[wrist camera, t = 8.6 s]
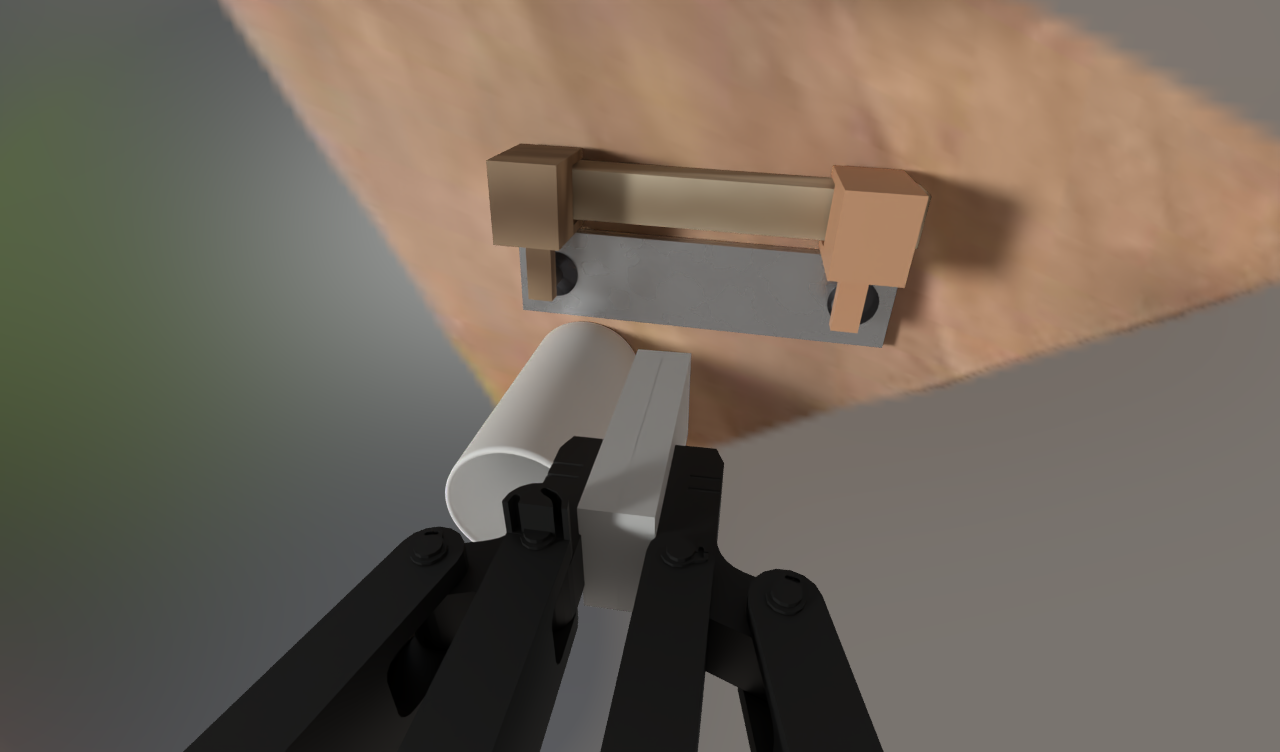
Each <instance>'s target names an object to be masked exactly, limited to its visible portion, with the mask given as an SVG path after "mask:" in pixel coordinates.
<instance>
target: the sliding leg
mask: <svg viewBox="0 0 1280 752" xmlns="http://www.w3.org/2000/svg"><path fill="white" fill-rule="evenodd" d="M831 176H832V179H833V181H834V183H835V188H834V193H833V198H832V204H831V209H830V214H829V220H828V225H827V230H826V235H825V241H824V240H819V244H818V245H819V249H820V253H821V257H822V261H823V265H824V269H825V273H826V278H827V281H835V282H838V283H837V288H836V292H835V297H834V299H833V301H832V303H831V307H832V312H831V317H830V321H829V326H830V331H840V332H849V333H858V329H859V325H860V321H861V316H862V312H863V308H864V303H865V299H866V295H867V291H868V286H869V285H878V286H889V287H900V288H905V284H906V281H907V277H908V273H909V269H910V266H911V262H912V258H913V254H914V251H915V247H916V243H917V239H918V236H919V232H920V228H921V224H922V221H923V217H924V213H925V209H926V206H927V202H928V198H929V196H928V195H927V194H926V193H925V192H924V191H923V190H922V189H921V188H920V187H919V186H918V184H917V183H916V182H915V181H914V180H913V179H912V178H911V177H910V176H909V175H908V174H907V173H906V172H905V171H904V170H895V169H881V168H866V167H852V166H837V165H833V169H832V174H831Z"/></svg>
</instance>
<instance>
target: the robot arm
mask: <svg viewBox="0 0 1280 752" xmlns="http://www.w3.org/2000/svg"><path fill="white" fill-rule="evenodd" d="M690 371H691V353H679V352H667V351H654V350H641V349H638V351H637V353H636V356H635V358H634V361H633V364H632V366H631V369H630V371H629V374H628V377H627V379H626V382H625V385H624V387H623V390H622V392H621V395H620V398H619V400H618V403H617V405H616V408H615V411H614V413H613V416H612V418H611V421H610V424H609V426H608V429H607V431H606V434H605V437H604V439H599V438H590V437H580V436H573V437H572V438H571V439H570V440H568V441H567V442H566V443H565V444H564V445H562V446H561V447H560V448H559V450H558V453H557V455H556V457H555V459H554V461H553V464H552V465H551V467H550V469H549V471H548V475H547V476H546V478H545V480H544V482H543V483H531V484H527V485H523V486H520V487H518V488H516V489H514V490H513V491H511V492H509V493H508V494H507V496H506V497H505V498H504V499H503V500H502V506H503V513H504V519H505V525H506V534H505V535H504V536H502V537H499V538H496V539H491V540H485V541H478V542H470V543H464V541H463V539H462V537H461V535H460V534H459V533H458V532H456V531H454V530H452V529H451V528H445V527H433V528H426V529H424V530H421V531H419V532H416V533H414V534H413V535H411V536H409V537H408V538H407V539H405V540H404V541H403V542H402V543H400V544H399V545H398V546H397V547H396V548H395V549H394V550H393V551H392V552H391V553H390V554H389V555H388V556H387V557H386V558H385V559H384V560H383V561H382V562H381V563H380V564H379V565H378V566H376V568H374V569H373V570H372V571H371V572H370V573H369V574H368V575H367V576H366V577H365V578H364V579H363V580H362V581H361V582H360V583H359V584H358V585H357V586H356V587H355V588H354V589H353V590H351V591H350V592H349V593H348V594H347V595H346V596H345V597H344V598H343V599H342V600H341V601H340V602H339V603H338V604H337V605H336V606H335V607H334V608H333V609H332V610H331V611H330V612H329V613H327V615H325V616H324V617H323V618H322V619H321V620H320V621H319V622H318V623H317V624H316V625H315V626H314V627H313V628H312V629H311V630H310V631H309V632H308V633H307V634H306V635H305V636H304V637H302V639H300V640H299V641H298V642H297V643H296V644H295V645H294V646H293V647H292V648H291V649H290V650H289V651H288V652H287V653H286V654H285V655H284V656H283V657H282V658H281V659H280V660H278V661H277V662H276V663H275V664H274V665H273V666H272V667H271V668H270V669H269V670H268V671H267V672H266V673H265V674H264V675H263V676H262V677H261V678H260V679H259V680H258V681H257V682H256V683H255V684H253V685H252V686H251V687H250V688H249V689H248V690H247V691H246V692H245V693H244V694H243V695H242V696H241V697H240V698H239V699H238V700H237V701H236V702H235V703H234V704H233V705H232V706H230V707H229V708H228V709H227V710H226V711H225V712H224V713H223V714H222V715H221V716H220V717H219V718H218V719H217V720H216V721H215V722H214V723H213V724H212V725H211V726H210V727H209V728H208V729H207V730H205V731H204V732H203V733H202V734H201V735H200V736H199V737H198V738H197V739H196V740H195V741H194V742H193V743H192V744H191V745H190V746H189V747H188V748H187V749H186V750H185V751H184V752H540V749H541V746H542V742H543V739H544V736H545V733H546V729H547V726H548V723H549V720H550V716H551V713H552V710H553V707H554V703H555V700H556V697H557V694H558V690H559V687H560V684H561V680H562V677H563V674H564V671H565V667H566V664H567V661H568V657H569V654H570V651H571V647H572V644H573V641H574V638H575V635H576V631H577V628H578V609H577V607H578V604H579V601H580V598H581V595H582V592H583V595H584V605H587V606H593V607H601V608H607V609H614V610H621V611H628V612H632V616H631V620H630V624H629V629H628V633H627V638H626V642H625V646H624V651H623V655H622V660H621V664H620V668H619V673H618V677H617V681H616V686H615V690H614V695H613V699H612V704H611V708H610V712H609V717H608V721H607V726H606V730H605V735H604V739H603V743H602V748H601V752H698V743H699V733H700V723H701V712H702V702H703V691H704V681H705V672H706V671H707V672H709V673H711V674H713V675H715V676H717V677H719V678H721V679H723V680H725V681H727V682H729V683H731V684H733V685H735V686H737V687H738V693H739V698H740V703H741V707H742V712H743V717H744V721H745V726H746V731H747V736H748V740H749V745H750V750H751V752H883V749H882V747H881V744H880V742H879V739H878V737H877V734H876V731H875V729H874V727H873V724H872V721H871V719H870V716H869V714H868V711H867V709H866V706H865V703H864V701H863V698H862V696H861V693H860V691H859V688H858V685H857V683H856V680H855V678H854V675H853V673H852V670H851V668H850V665H849V662H848V660H847V657H846V655H845V652H844V650H843V647H842V645H841V642H840V640H839V637H838V634H837V632H836V630H835V627H834V624H833V622H832V619H831V617H830V614H829V611H828V609H827V606H826V604H825V601H824V599H823V596H822V594H821V593H820V591H819V590H818V588H817V587H816V585H815V584H814V583H812V582H811V581H810V580H809V579H807V578H806V577H805V576H803V575H801V574H798V573H796V572H793V571H791V570H781V569H774V570H770V571H765V572H763V573H762V574H760V575H758V576H757V577H754V576H752V575H749V574H747V573H744V572H742V571H740V570H738V569H736V568H735V567H733V566H732V565H731V564H730V563H728V562H727V561H726V560H725V559H724V557H723V556H722V555H721V553H720V551H719V548H718V546H717V539H718V528H719V517H720V507H721V494H722V482H723V469H724V462H723V460H722V459H721V457H720V455H719V453H718V451H717V449H711V448H702V447H692V446H686V441H687V436H688V419H689V395H690Z"/></svg>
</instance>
